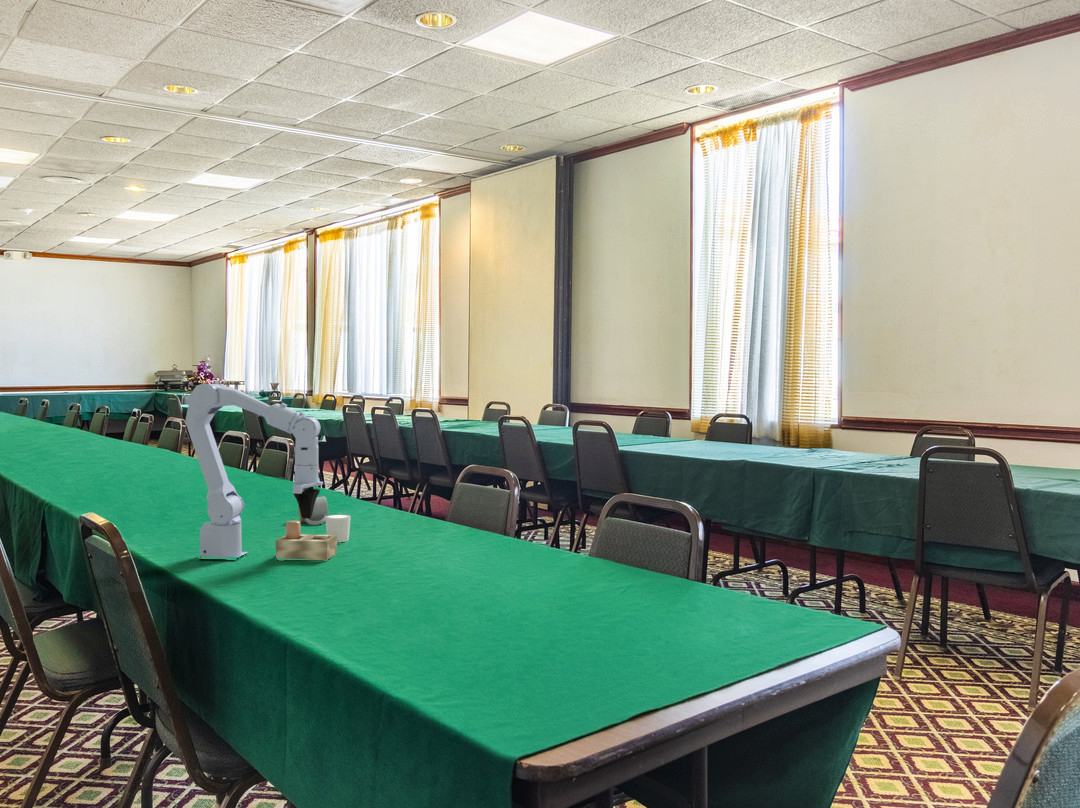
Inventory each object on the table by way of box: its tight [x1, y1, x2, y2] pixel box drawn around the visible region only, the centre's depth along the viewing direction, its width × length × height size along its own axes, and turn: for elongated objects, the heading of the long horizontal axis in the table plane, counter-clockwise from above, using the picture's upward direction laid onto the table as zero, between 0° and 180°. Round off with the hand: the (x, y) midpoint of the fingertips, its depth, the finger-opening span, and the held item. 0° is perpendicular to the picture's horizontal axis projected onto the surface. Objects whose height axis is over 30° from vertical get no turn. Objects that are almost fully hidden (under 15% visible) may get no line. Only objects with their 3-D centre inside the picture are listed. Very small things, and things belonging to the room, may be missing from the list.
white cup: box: [325, 513, 352, 543], centre depth 235 cm, size 7×7×7 cm
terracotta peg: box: [285, 520, 302, 539], centre depth 215 cm, size 4×4×5 cm
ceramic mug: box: [297, 495, 329, 526], centre depth 262 cm, size 11×8×8 cm
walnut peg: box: [313, 536, 328, 540], centre depth 215 cm, size 4×4×5 cm
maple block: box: [275, 533, 338, 561], centre depth 215 cm, size 13×8×5 cm, turn 87°
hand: (306, 517), depth 215 cm, fingers closed
